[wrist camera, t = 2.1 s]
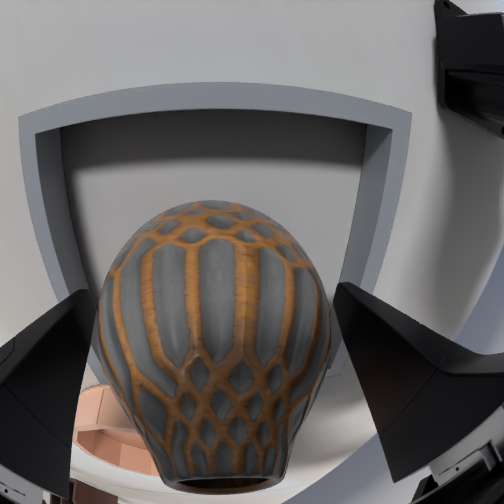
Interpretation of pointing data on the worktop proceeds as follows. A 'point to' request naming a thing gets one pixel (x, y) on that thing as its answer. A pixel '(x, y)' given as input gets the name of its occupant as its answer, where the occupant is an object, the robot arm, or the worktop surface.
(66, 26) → the worktop surface
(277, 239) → the vase
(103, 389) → the bowl
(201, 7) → the worktop surface
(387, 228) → the parts tray
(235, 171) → the worktop surface
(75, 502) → the letter holder
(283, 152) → the worktop surface
